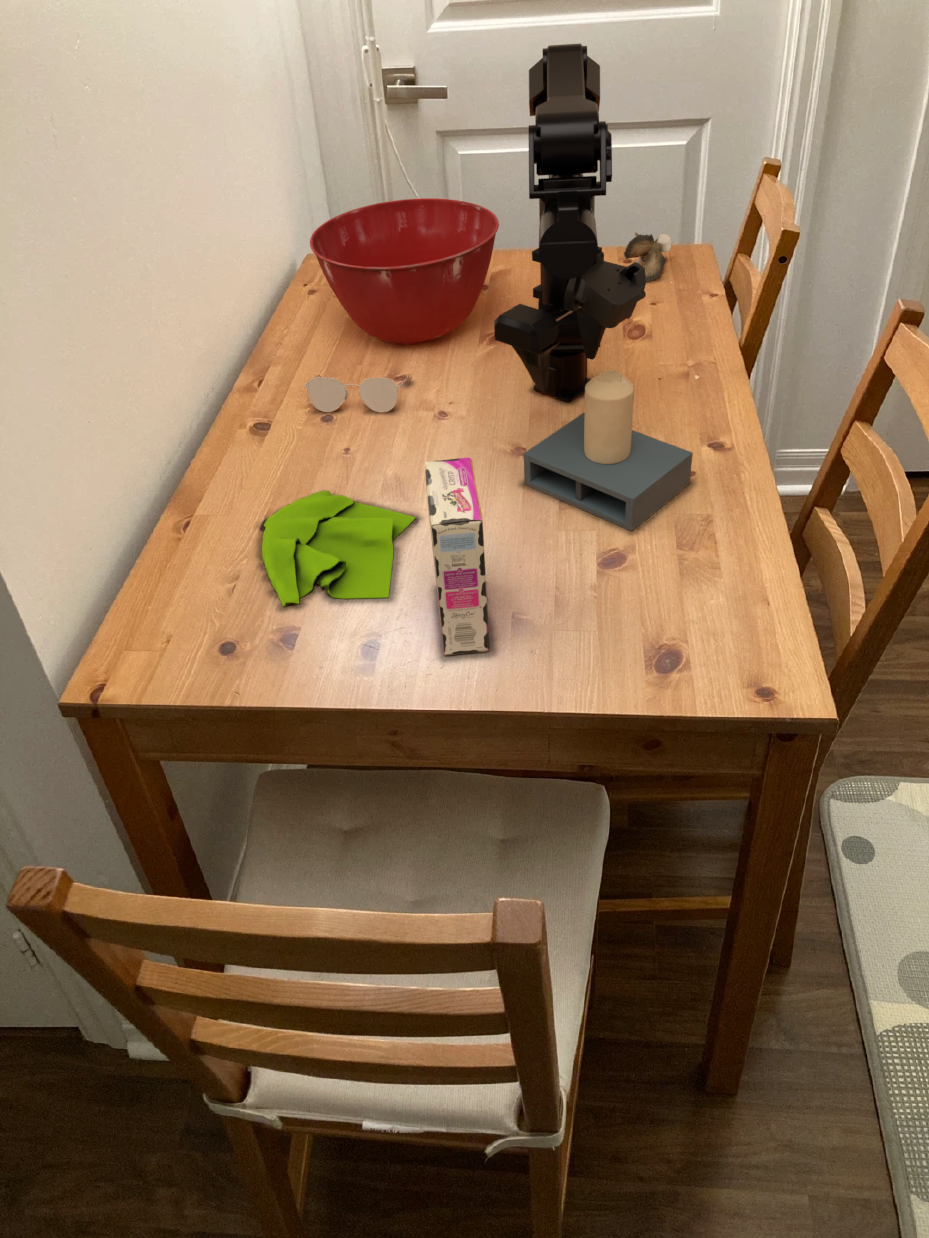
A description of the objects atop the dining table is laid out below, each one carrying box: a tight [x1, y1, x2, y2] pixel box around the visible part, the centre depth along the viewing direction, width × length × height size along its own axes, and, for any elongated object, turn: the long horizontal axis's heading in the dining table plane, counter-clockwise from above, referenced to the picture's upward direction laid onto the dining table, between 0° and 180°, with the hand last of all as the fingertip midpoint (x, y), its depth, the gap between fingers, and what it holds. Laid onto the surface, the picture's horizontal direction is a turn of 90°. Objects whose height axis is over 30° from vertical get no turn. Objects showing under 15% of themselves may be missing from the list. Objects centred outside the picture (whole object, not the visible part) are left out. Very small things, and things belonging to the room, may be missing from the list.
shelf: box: [523, 411, 693, 532], centre depth 118 cm, size 12×16×4 cm
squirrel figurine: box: [623, 232, 673, 282], centre depth 164 cm, size 8×7×9 cm
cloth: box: [261, 490, 416, 607], centre depth 112 cm, size 20×22×2 cm
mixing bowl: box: [309, 197, 500, 346], centre depth 151 cm, size 28×28×15 cm
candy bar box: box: [424, 457, 491, 656], centre depth 97 cm, size 11×5×16 cm, turn 5°
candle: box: [584, 369, 635, 464], centre depth 113 cm, size 6×6×10 cm
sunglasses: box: [303, 374, 411, 414], centre depth 139 cm, size 14×8×5 cm, turn 82°
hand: (566, 374), depth 114 cm, fingers open, 9 cm apart
